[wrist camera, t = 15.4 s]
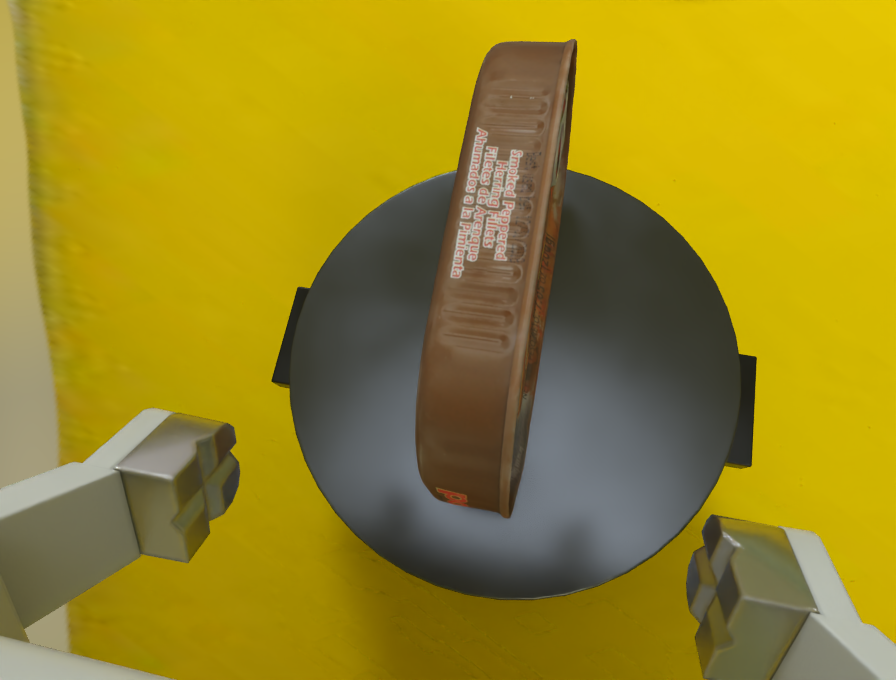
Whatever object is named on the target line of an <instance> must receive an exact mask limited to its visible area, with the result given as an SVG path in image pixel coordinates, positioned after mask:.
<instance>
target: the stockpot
mask: <svg viewBox="0 0 896 680" xmlns="http://www.w3.org/2000/svg"><path fill="white" fill-rule="evenodd" d="M456 173H457V170H456V171H452V172H449V173H445V174H442V175H438V176H435V177H433V178H430V179H428V180H426V181H423V182H421V183H418V184H416V185H414V186H411V187H410V188H408V189H406V190H404V191H402V192H401V193H399V194H397V195H395V196H393V197H392V198H390V199H388V200H387V201H386V202H384V203H383V204H381V205H380V206H379V207H377V208H376V209H375V210H373V211H372V212H370V213H369V214H368V215H367V216H366V217H364V218H363V219H362V220H361V221H360V222H359V223H358V224H357V225H356V226H355V227H354V228H353V229H351V230H350V231H349V232H348V233H347V235H346V236H345V237H344V238H343V239H342V241H341V242H340V243H339V244H338V245H337V246H336V248H335V249H334V250H333V251H332V252H331V254H330V255H329V257H328V258H327V260H326V261H325V263H324V264H323V266H322V267H321V269H320V271H319V272H318V274H317V275H316V277H315V280H314V282H313V284H312V286H311V288H305V287H298V288H297V292H296V295H295V299H294V302H293V306H292V309H291V313H290V316H289V320H288V324H287V327H286V331H285V334H284V338H283V341H282V345H281V349H280V352H279V356H278V359H277V363H276V366H275V370H274V373H273V377H272V382H273V383H275V384H277V385H278V386H280V387H285V388H290V404H291V410H292V416H293V421H294V426H295V431H296V435H297V438H298V441H299V444H300V447H301V450H302V453H303V456H304V459H305V462H306V464H307V466H308V468H309V470H310V472H311V474H312V476H313V478H314V480H315V482H316V484H317V486H318V488H319V489H320V491H321V492H322V494H323V495H324V497H325V498H326V500H327V501H328V503H329V504H330V506H331V507H332V509H333V510H334V511H335V513H336V514H337V515H338V516H339V517H340V518H341V520H342V521H343V522H344V523H345V524H346V525H347V526H348V527H349V528H350V530H351V531H352V532H353V533H354V534H355V535H356V536H357V537H358V538H359V539H361V540H362V541H363V542H364V543H365V544H367V545H368V546H369V547H370V548H371V549H372V550H374V551H375V552H376V553H377V554H378V555H380V556H381V557H383V558H384V559H386V560H387V561H389V562H391V563H392V564H394V565H395V566H397V567H399V568H400V569H402V570H403V571H405V572H406V573H409V574H411V575H413V576H415V577H417V578H420V579H422V580H424V581H426V582H428V583H431V584H433V585H435V586H438V587H441V588H445V589H448V590H452V591H455V592H458V593H462V594H465V595H470V596H477V597H483V598H490V599H497V600H537V599H544V598H552V597H559V596H566V595H570V594H573V593H576V592H580V591H583V590H587V589H590V588H594V587H597V586H600V585H602V584H604V583H606V582H608V581H611V580H613V579H615V578H617V577H620V576H622V575H624V574H626V573H628V572H630V571H631V570H633V569H634V568H636V567H637V566H639V565H641V564H642V563H644V562H645V561H647V560H648V559H650V558H652V557H653V556H655V555H656V554H657V553H658V552H659V551H660V550H662V549H663V548H664V547H665V546H666V545H667V544H669V543H670V542H671V541H672V540H673V539H674V538H675V537H677V536H678V535H679V534H680V533H681V532H682V530H683V529H684V528H685V527H686V526H687V525H688V523H689V522H690V521H691V520H692V519H693V518H694V516H695V515H696V514H697V513H698V512H699V511H700V509H701V508H702V506H703V504H704V503H705V501H706V500H707V498H708V496H709V495H710V493H711V492H712V490H713V488H714V487H715V485H716V484H717V482H718V479H719V477H720V475H721V472H722V470H723V468H724V466H728V467H734V468H739V469H742V468H747V467H751V465H752V446H753V424H754V403H755V382H756V361H757V358H756V357H755V356H748V355H742V354H739V353H738V346H737V340H736V335H735V332H734V328H733V325H732V322H731V318H730V315H729V312H728V309H727V306H726V304H725V302H724V300H723V298H722V295H721V293H720V291H719V289H718V287H717V284H716V282H715V281H714V279H713V277H712V276H711V274H710V273H709V271H708V269H707V268H706V266H705V265H704V263H703V261H702V260H701V258H700V257H699V256H698V255H697V253H696V252H695V251H694V250H693V249H692V247H691V246H690V245H689V244H688V242H687V241H686V240H685V239H684V237H683V236H682V235H681V234H679V233H678V232H677V231H676V230H675V229H674V228H673V227H672V226H671V225H670V224H669V223H668V222H667V221H666V220H665V219H664V218H663V217H661V216H660V215H659V214H657V213H656V212H655V211H653V210H652V209H651V208H649V207H648V206H647V205H645V204H644V203H643V202H641V201H640V200H638V199H636V198H634V197H633V196H631V195H629V194H627V193H626V192H624V191H622V190H620V189H619V188H617V187H615V186H612V185H610V184H608V183H605V182H603V181H600V180H598V179H596V178H593V177H591V176H587V175H584V174H581V173H577V172H574V171H570V170H567V172H566V181H565V189H564V197H563V204H562V211H561V220H560V228H559V235H558V242H557V249H556V256H555V263H554V270H553V276H552V283H551V290H550V296H549V303H548V310H547V316H546V324H545V330H544V336H543V344H542V350H541V357H540V364H539V371H538V378H537V385H536V391H535V398H534V405H533V410H532V417H531V422H530V429H529V438H528V444H527V450H526V456H525V462H524V468H523V472H522V476H521V481H520V484H519V488H518V493H517V496H516V500H515V504H514V509H513V512H512V515H511V517H510V518H508V519H507V518H504V517H502V515H501V514H500V513H497V512H493V511H488V510H483V509H478V508H472V507H466V506H460V505H454V504H450V503H446V502H442V501H439V500H438V499H436V498H434V496H433V495H432V494H431V493H430V491H429V490H428V489H427V488H426V486H425V485H424V484H423V482H422V479H421V477H420V474H419V470H418V464H417V456H416V442H415V422H416V399H417V389H418V378H419V370H420V362H421V355H422V348H423V342H424V335H425V330H426V325H427V320H428V315H429V309H430V304H431V299H432V294H433V289H434V282H435V277H436V273H437V268H438V263H439V257H440V252H441V247H442V241H443V236H444V231H445V227H446V222H447V218H448V212H449V207H450V202H451V197H452V192H453V187H454V182H455V177H456Z"/></svg>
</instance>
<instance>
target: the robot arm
mask: <svg viewBox="0 0 896 680" xmlns="http://www.w3.org/2000/svg"><path fill="white" fill-rule="evenodd" d="M235 444H236V437H235V431H234V427H233V426H231V425H230V424H228V423H224V422H220V421H215V420H210V419H206V418H201V417H196V416H192V415H187V414H182V413H175V412H170V411H166V410H161V409H156V408H149V409H146V410H143V411H142V412H141V413H140V414H138V415H137V416H136V417H135V418H134V419H133V420H131V421H130V422H129V423H128V424H127V425H126V426H125V427H123V428H122V429H121V430H120V431H119V432H118V433H117V434H115V435H114V436H113V437H112V438H111V439H110V440H109V441H107V442H106V443H105V444H104V445H103V446H102V447H100V448H99V449H98V450H97V451H96V452H95V453H94V454H92V455H91V456H90V457H89V458H88V459H87V460H86V461H84V462H83V463H77V462H72V463H69V464H66V465H64V466H61V467H58V468H55V469H53V470H50V471H47V472H44V473H42V474H39V475H36V476H33V477H31V478H28V479H26V480H23V481H20V482H17V483H14V484H11V485H9V486H6V487H3V488H0V680H175V679H171V678H167V677H163V676H159V675H155V674H151V673H147V672H143V671H139V670H135V669H131V668H127V667H123V666H119V665H115V664H111V663H107V662H103V661H99V660H95V659H91V658H88V657H84V656H80V655H76V654H72V653H68V652H64V651H60V650H56V649H52V648H48V647H44V646H40V645H36V644H32V643H30V642H29V640H28V637H27V635H26V633H25V630H24V629H25V628H27V627H28V626H30V625H32V624H33V623H35V622H36V621H38V620H40V619H41V618H43V617H44V616H46V615H48V614H49V613H51V612H52V611H54V610H56V609H57V608H59V607H61V606H62V605H64V604H65V603H67V602H69V601H70V600H72V599H73V598H75V597H77V596H78V595H80V594H81V593H83V592H85V591H86V590H88V589H90V588H91V587H93V586H94V585H96V584H98V583H99V582H101V581H102V580H104V579H106V578H107V577H109V576H110V575H112V574H114V573H115V572H117V571H119V570H120V569H122V568H123V567H125V566H127V565H128V564H130V563H131V562H133V561H135V560H136V559H138V558H139V557H140V556H141V555H140V554H144V555H149V556H154V557H159V558H164V559H170V560H175V561H180V562H185V563H189V561H190V560H191V558H192V557H193V556H194V554H195V553H196V552H197V550H198V549H199V548H200V546H201V545H202V543H203V542H204V541H205V539H206V538H207V537H208V535H209V534H210V528H209V521H211V520H213V519H215V518H217V517H219V516H221V515H223V514H224V513H225V512H226V510H227V509H228V507H229V506H230V504H231V503H232V502H233V499H234V496H235V494H236V491H237V488H238V486H239V477H240V469H239V462H238V461H237V459H236V458H235V457H234V456H233V454H232V453H231V452H230V450H231V448H232V447H233V446H234V445H235ZM702 535H703V540H704V544H705V546H703V547H701V548H699V549H698V550H696V551H694V552H693V555H692V558H691V561H690V564H689V567H688V574H687V582H686V588H687V600H688V605H689V611H690V613H691V614H692V615H693V616H694V617H695V618H696V620H697V621H698V622H699V623H700V626H699V629H698V631H697V633H696V636H695V641H696V646H697V650H698V655H699V660H700V665H701V669H702V674H703V678H705V679H709V680H896V644H894V643H893V642H892V641H891V640H890V639H889V638H887V637H886V636H885V635H884V634H883V633H882V632H880V631H879V630H878V629H877V628H876V627H875V626H873V625H868V624H864V623H862V621H861V619H860V617H859V615H858V613H857V611H856V609H855V607H854V605H853V603H852V601H851V599H850V597H849V595H848V593H847V591H846V589H845V587H844V585H843V583H842V581H841V579H840V577H839V575H838V573H837V571H836V569H835V567H834V565H833V563H832V561H831V559H830V557H829V555H828V553H827V551H826V549H825V547H824V545H823V543H822V541H821V539H820V537H819V536H818V535H816V534H815V533H814V532H811V531H805V530H799V529H794V528H788V527H782V526H778V527H776V526H773V525H767V524H762V523H756V522H751V521H745V520H740V519H734V518H729V517H723V516H718V515H711V516H710V517H709V518H708V519H707V520H706V523H705V525H704V528H703V530H702Z"/></svg>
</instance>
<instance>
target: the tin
mask: <svg viewBox="0 0 896 680" xmlns="http://www.w3.org/2000/svg"><path fill="white" fill-rule="evenodd" d="M576 57H577V41H576V40H575V39H571V40H569V41H567V42H523V41H519V42H503V43H499V44H496V45H495V46H493V47H492V48H491V49H490V51H489V52H488V53H487V55H486V57H485V59H484V61H483V63H482V66H481V69H480V72H479V75H478V78H477V81H476V85H475V89H474V93H473V97H472V102H471V107H470V112H469V117H468V121H467V125H466V130H465V135H464V139H463V144H462V149H461V153H460V158H459V163H458V168H457V173H456V177H455V182H454V187H453V192H452V197H451V202H450V207H449V212H448V218H447V222H446V227H445V231H444V236H443V241H442V247H441V252H440V257H439V263H438V268H437V273H436V277H435V282H434V289H433V294H432V299H431V304H430V309H429V315H428V320H427V325H426V330H425V335H424V342H423V348H422V355H421V362H420V370H419V378H418V389H417V399H416V422H415V442H416V456H417V464H418V470H419V474H420V477H421V479H422V482H423V484H424V485H425V486H426V488H427V489H428V490H429V491H430V493H431V494H432V495H433V496H434V498H436V499H438V500H439V501H442V502H446V503H450V504H454V505H460V506H466V507H472V508H478V509H483V510H488V511H493V512H497V513H500V514H501V515H502V517H504V518H507V519H508V518H510V517H511V515H512V512H513V509H514V504H515V500H516V496H517V493H518V488H519V484H520V481H521V476H522V472H523V468H524V462H525V456H526V450H527V444H528V438H529V429H530V422H531V417H532V410H533V405H534V398H535V391H536V385H537V378H538V371H539V364H540V357H541V350H542V344H543V336H544V330H545V324H546V316H547V310H548V303H549V296H550V290H551V283H552V276H553V270H554V263H555V256H556V249H557V242H558V235H559V228H560V220H561V211H562V204H563V197H564V189H565V181H566V172H567V163H568V152H569V142H570V132H571V120H572V106H573V97H574V88H575V75H576Z"/></svg>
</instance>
